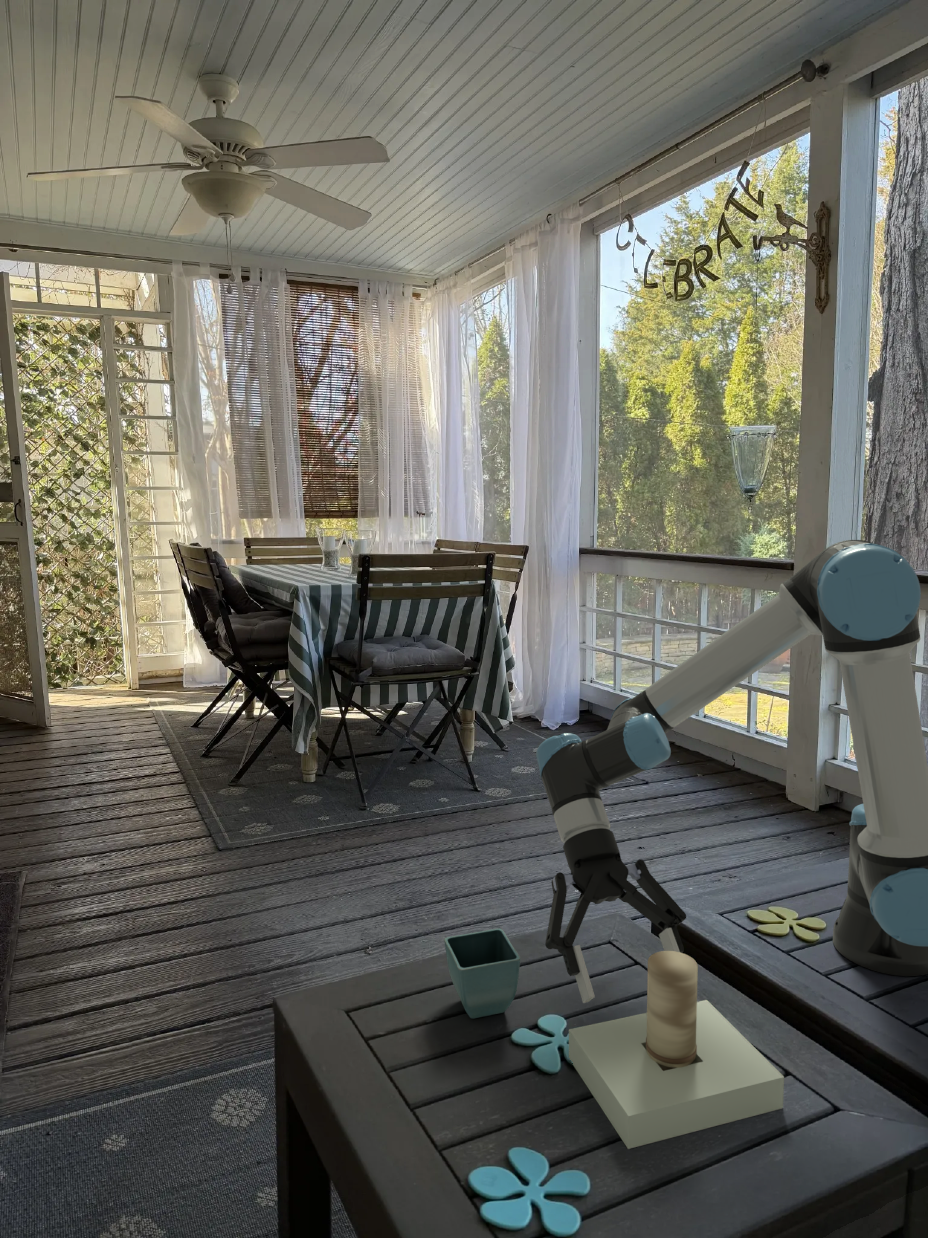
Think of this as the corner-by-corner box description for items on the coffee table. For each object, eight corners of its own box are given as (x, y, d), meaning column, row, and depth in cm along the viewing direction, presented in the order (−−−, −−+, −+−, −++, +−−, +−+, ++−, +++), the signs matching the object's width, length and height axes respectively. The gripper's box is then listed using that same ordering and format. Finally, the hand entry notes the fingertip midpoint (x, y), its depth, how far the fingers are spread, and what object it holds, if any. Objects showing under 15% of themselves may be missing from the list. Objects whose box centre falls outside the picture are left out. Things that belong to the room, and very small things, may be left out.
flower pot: (460, 1031, 115) (459, 969, 114) (444, 995, 123) (443, 937, 122) (522, 1019, 117) (521, 959, 116) (502, 984, 126) (501, 927, 124)
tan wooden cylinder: (679, 1057, 108) (681, 947, 106) (705, 1088, 102) (708, 972, 100) (636, 1067, 106) (637, 955, 104) (661, 1100, 101) (663, 982, 98)
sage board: (706, 1027, 115) (706, 1000, 114) (782, 1108, 100) (784, 1077, 99) (568, 1058, 109) (568, 1029, 108) (628, 1149, 94) (628, 1116, 93)
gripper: (654, 835, 130) (707, 980, 118) (499, 859, 123) (540, 1016, 111) (673, 814, 124) (731, 964, 112) (512, 838, 117) (556, 1001, 105)
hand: (636, 990), depth 111 cm, fingers open, 13 cm apart
